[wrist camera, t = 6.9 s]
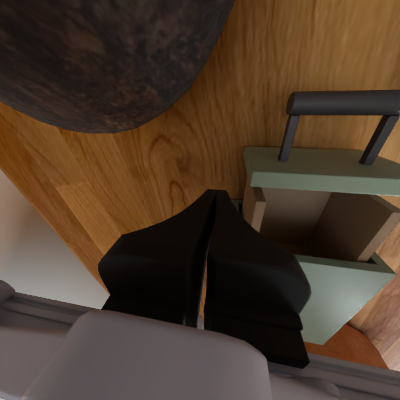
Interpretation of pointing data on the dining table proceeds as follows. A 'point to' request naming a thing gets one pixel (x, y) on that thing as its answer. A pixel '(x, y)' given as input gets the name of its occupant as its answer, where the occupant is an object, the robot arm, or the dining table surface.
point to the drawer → (326, 182)
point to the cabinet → (336, 291)
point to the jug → (103, 58)
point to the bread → (348, 348)
